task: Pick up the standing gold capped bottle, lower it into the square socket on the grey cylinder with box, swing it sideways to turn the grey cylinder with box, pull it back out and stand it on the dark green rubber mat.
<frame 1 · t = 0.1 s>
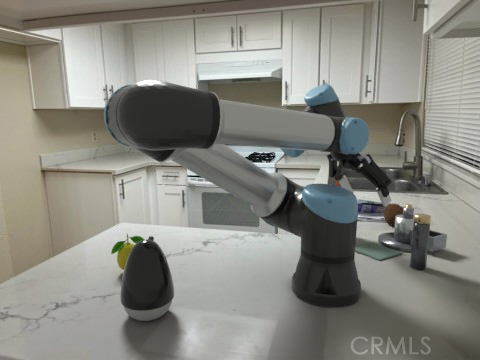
hand: (367, 198, 104), 15 cm above the counter, tool tilted 35°, fingers open, 13 cm apart
gold capped bottle: (417, 267, 94), on the counter
black egg-shaped pod: (148, 314, 71), on the counter
chuck base: (405, 243, 112), on the counter
motor: (335, 237, 118), on the counter
lemon: (130, 272, 91), on the counter
potato: (394, 226, 131), on the counter
mat: (376, 251, 104), on the counter
grey cylinder with box: (418, 225, 108), point 7 cm above the counter, hinge at 0.0°
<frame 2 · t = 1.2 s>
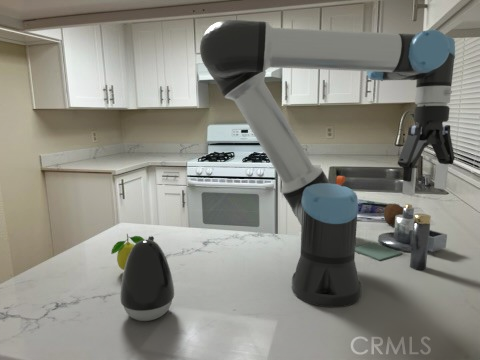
hand: (424, 191, 90), 20 cm above the counter, tool pointing down, fingers open, 13 cm apart
nothing on the counter moved.
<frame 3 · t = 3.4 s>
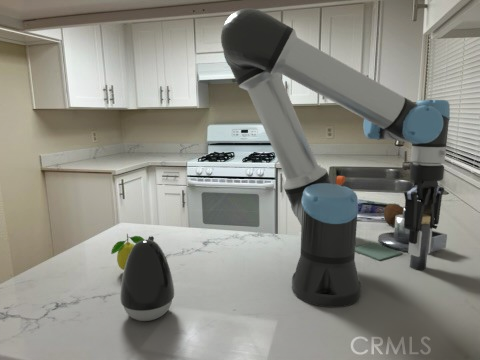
hand: (419, 253, 93), 4 cm above the counter, tool pointing down, fingers closed on gold capped bottle, 4 cm apart
gold capped bottle: (417, 267, 94), on the counter, touching gripper
everything else where it was.
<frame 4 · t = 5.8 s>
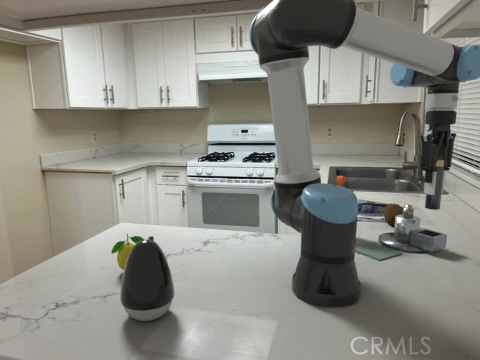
hand: (433, 193, 103), 17 cm above the counter, tool pointing down, fingers closed on gold capped bottle, 4 cm apart
gold capped bottle: (432, 208, 103), point 13 cm above the counter, touching gripper
everything else where it was.
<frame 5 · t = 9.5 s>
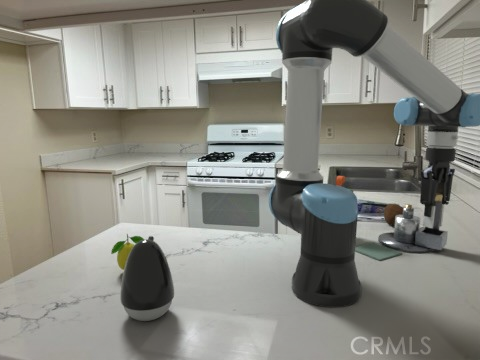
hand: (432, 225, 107), 7 cm above the counter, tool pointing down, fingers closed on gold capped bottle, 4 cm apart
gold capped bottle: (430, 240, 107), point 2 cm above the counter, touching grey cylinder with box, gripper
grey cylinder with box: (419, 224, 108), point 7 cm above the counter, hinge at 17.6°, touching gold capped bottle
everything else where it was.
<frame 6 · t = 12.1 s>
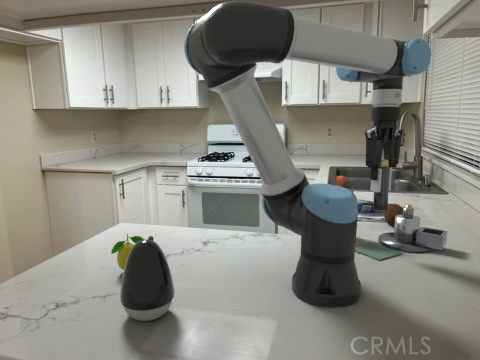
hand: (380, 190, 101), 18 cm above the counter, tool pointing down, fingers closed on gold capped bottle, 4 cm apart
gold capped bottle: (380, 208, 102), point 13 cm above the counter, touching gripper
grey cylinder with box: (419, 224, 108), point 7 cm above the counter, hinge at 19.8°
everything else where it was.
when the fingers open (6 cm above the counter, at t = 14.6 s): gold capped bottle stays where it is, resting on mat.
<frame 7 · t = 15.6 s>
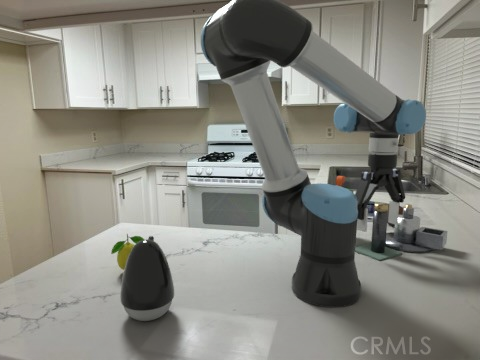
hand: (377, 226, 103), 8 cm above the counter, tool pointing down, fingers open, 13 cm apart
gold capped bottle: (377, 250, 104), resting on mat
everything else where it was.
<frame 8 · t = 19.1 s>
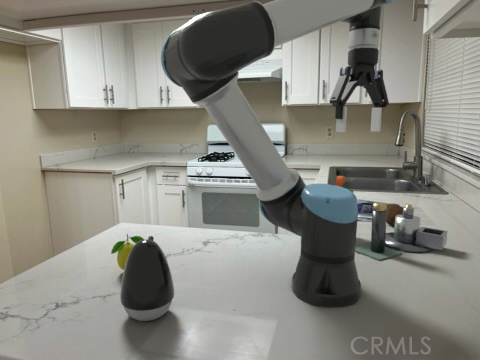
hand: (358, 132, 96), 35 cm above the counter, tool pointing down, fingers open, 13 cm apart
nothing on the counter moved.
at the end: gold capped bottle inside the target area on the mat (0.5 cm from its centre), point 0.4 cm above the mat's base; the gripper is holding nothing; grey cylinder with box at +20° (first picture: +0°) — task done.
